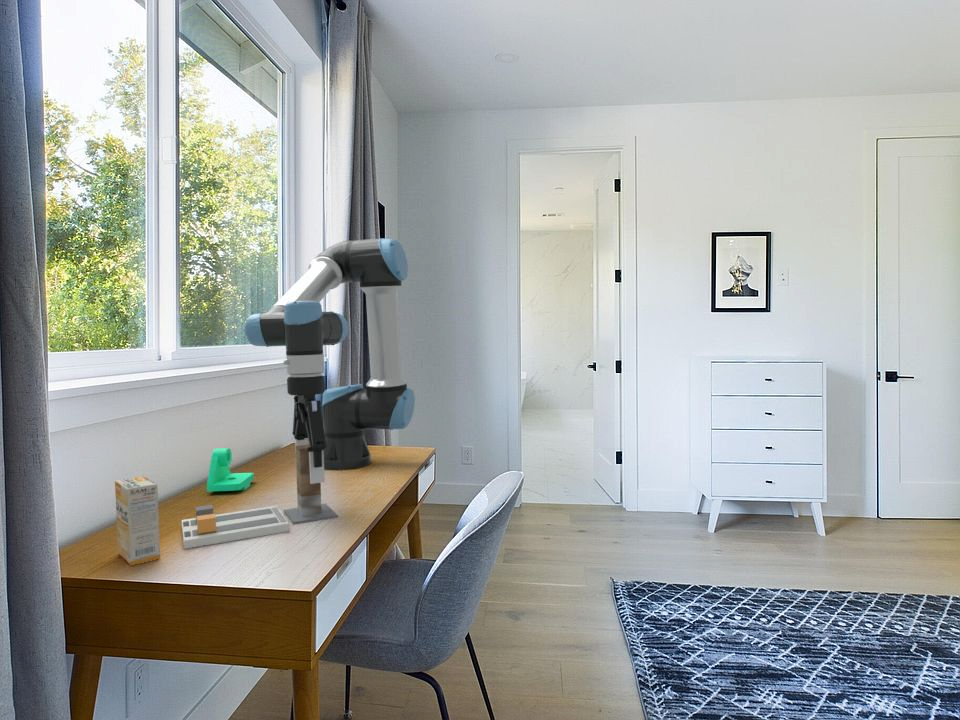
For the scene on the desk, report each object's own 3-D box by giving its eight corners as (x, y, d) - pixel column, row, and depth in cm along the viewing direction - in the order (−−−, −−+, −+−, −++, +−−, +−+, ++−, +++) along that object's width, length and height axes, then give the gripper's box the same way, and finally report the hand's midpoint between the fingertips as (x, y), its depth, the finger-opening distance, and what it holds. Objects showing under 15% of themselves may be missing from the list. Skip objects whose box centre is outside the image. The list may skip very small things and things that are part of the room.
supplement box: (116, 554, 102) (113, 480, 101) (147, 547, 105) (144, 475, 105) (129, 567, 96) (125, 488, 95) (161, 559, 99) (158, 482, 99)
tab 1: (212, 517, 117) (212, 504, 117) (213, 520, 114) (213, 508, 114) (195, 519, 116) (195, 507, 116) (196, 523, 113) (196, 510, 113)
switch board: (276, 512, 125) (276, 505, 125) (289, 531, 113) (288, 522, 112) (181, 527, 116) (181, 519, 116) (184, 548, 104) (183, 540, 104)
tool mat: (325, 505, 130) (325, 503, 130) (337, 516, 121) (337, 514, 121) (283, 511, 126) (283, 509, 126) (292, 524, 117) (292, 522, 117)
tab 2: (214, 526, 111) (214, 513, 111) (216, 531, 108) (215, 517, 108) (197, 529, 109) (196, 516, 109) (198, 533, 107) (197, 520, 107)
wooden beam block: (316, 508, 126) (314, 443, 125) (321, 513, 123) (319, 446, 122) (297, 511, 124) (295, 445, 124) (302, 516, 121) (299, 448, 120)
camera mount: (239, 494, 141) (238, 452, 141) (207, 496, 141) (205, 453, 140) (254, 482, 153) (253, 443, 153) (224, 483, 153) (223, 444, 152)
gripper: (276, 372, 131) (280, 466, 133) (299, 380, 110) (304, 492, 111) (310, 370, 135) (314, 461, 136) (339, 377, 113) (343, 486, 114)
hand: (309, 475), depth 123 cm, fingers open, 13 cm apart
